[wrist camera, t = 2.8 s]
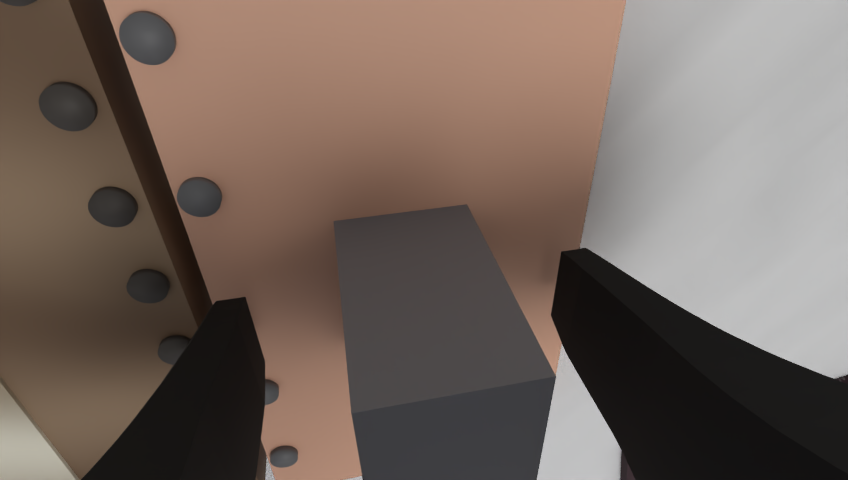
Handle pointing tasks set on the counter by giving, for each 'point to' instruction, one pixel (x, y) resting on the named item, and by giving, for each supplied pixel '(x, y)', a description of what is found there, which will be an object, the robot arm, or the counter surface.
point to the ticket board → (82, 245)
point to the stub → (384, 210)
